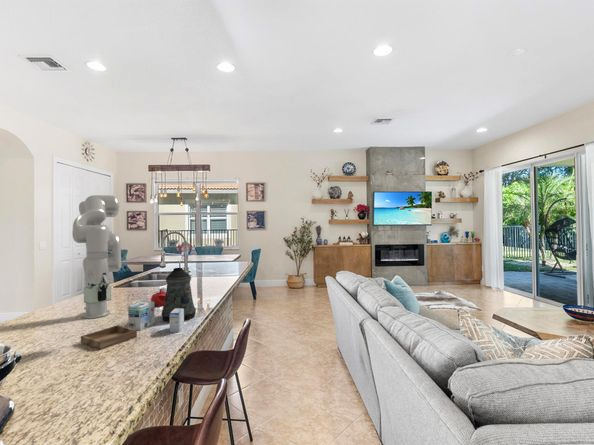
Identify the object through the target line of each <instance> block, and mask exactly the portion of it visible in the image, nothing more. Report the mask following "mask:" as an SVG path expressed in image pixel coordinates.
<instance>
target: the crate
mask: <svg viewBox="0 0 594 445" xmlns="http://www.w3.org/2000/svg"><path fill="white" fill-rule="evenodd" d="M137 337H138V330H134V329H130V328H129V327H126V326H122V325H118V324H117V325H114V326H110V327H107V328H104V329H100V330H97V331H94V332H90V333H87V334H83V335H80V344H81V345H84V346H86V347H87V346H88V347H90V348H93V349H95V350H99V351H100V350H101V351H102V350H104V349H107V348H110V347H113V346H115V345H119V344H122V343H124V342H127V341H130V340H132V339H136V338H137Z"/></svg>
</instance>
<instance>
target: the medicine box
mask: <svg viewBox="0 0 594 445" xmlns="http://www.w3.org/2000/svg"><path fill="white" fill-rule="evenodd" d="M184 327H185V321H184V309H183V308H176V309H174V310H173V311H172V312H171V313H170V322H169V332H170V333H180V331H182V329H183V328H184Z"/></svg>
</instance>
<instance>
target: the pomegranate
mask: <svg viewBox="0 0 594 445" xmlns="http://www.w3.org/2000/svg"><path fill="white" fill-rule="evenodd" d="M165 296H166V291H164V290H163V289H162V288H159V290H158V291H154V292H153V293H152V295H151V297H150V301H151V302H154V307H162V306H163V307H164V303H165Z"/></svg>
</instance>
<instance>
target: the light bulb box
mask: <svg viewBox="0 0 594 445" xmlns="http://www.w3.org/2000/svg"><path fill="white" fill-rule="evenodd" d="M127 307H128V308H127V312H128V313H127V316H128V319H127V320H128V328H130V329H134V330H137V331H142V330H145V329H146V328H148V327H150V326H152V325H155V306H154V302H151V300H150V301H149V300H148V301H147V300H141V301H140V302H136V303H134V304H131V305H128V306H127Z"/></svg>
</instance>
